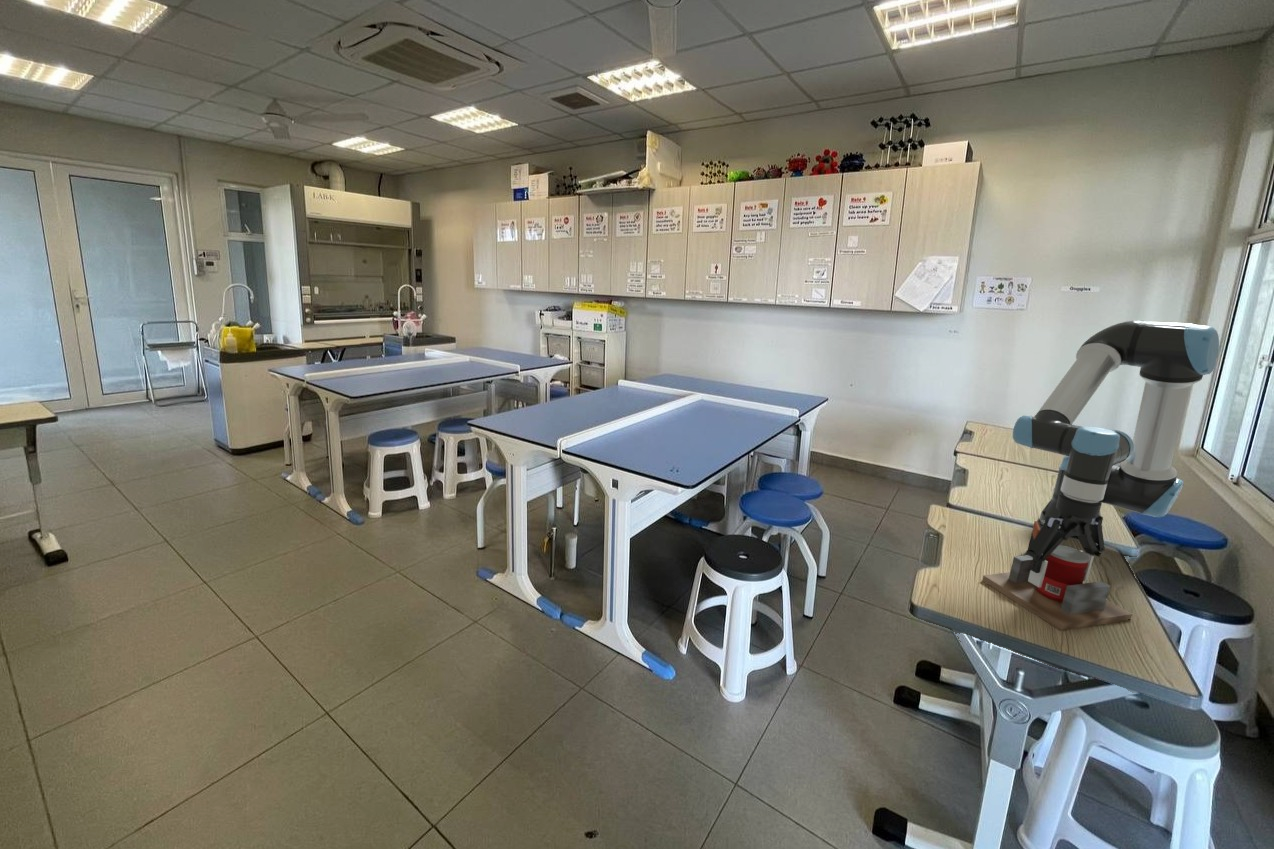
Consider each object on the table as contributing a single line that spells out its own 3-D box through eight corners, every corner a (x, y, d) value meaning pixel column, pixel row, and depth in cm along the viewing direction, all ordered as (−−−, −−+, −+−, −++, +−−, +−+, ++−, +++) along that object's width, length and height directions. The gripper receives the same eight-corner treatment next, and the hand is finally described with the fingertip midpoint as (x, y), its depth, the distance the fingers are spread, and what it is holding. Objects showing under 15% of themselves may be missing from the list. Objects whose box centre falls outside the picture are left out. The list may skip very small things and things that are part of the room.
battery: (1046, 554, 148) (1054, 521, 146) (1049, 565, 143) (1058, 530, 140) (1026, 550, 150) (1035, 517, 148) (1029, 560, 145) (1038, 526, 142)
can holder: (1045, 572, 139) (1052, 546, 137) (1130, 619, 120) (1140, 590, 118) (982, 580, 134) (988, 553, 132) (1061, 630, 115) (1069, 599, 113)
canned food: (1084, 606, 122) (1097, 562, 119) (1045, 601, 123) (1056, 557, 120) (1066, 588, 129) (1077, 546, 126) (1028, 583, 130) (1039, 542, 127)
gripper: (1105, 486, 126) (1082, 567, 132) (1020, 493, 120) (1000, 577, 126) (1140, 499, 119) (1114, 584, 125) (1053, 507, 113) (1030, 595, 119)
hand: (1057, 581), depth 125 cm, fingers open, 13 cm apart
